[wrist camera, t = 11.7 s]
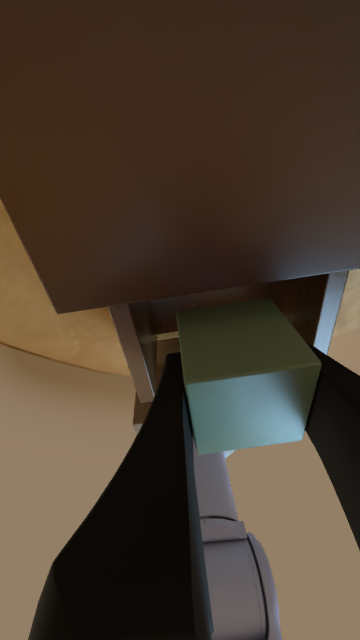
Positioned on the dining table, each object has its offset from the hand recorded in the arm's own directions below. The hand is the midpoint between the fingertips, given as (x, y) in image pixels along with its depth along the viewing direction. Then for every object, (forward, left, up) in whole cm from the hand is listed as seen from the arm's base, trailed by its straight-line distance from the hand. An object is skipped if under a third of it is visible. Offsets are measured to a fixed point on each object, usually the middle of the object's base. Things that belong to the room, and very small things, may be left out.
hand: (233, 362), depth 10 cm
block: (0, 0, -1) cm, 1 cm away
